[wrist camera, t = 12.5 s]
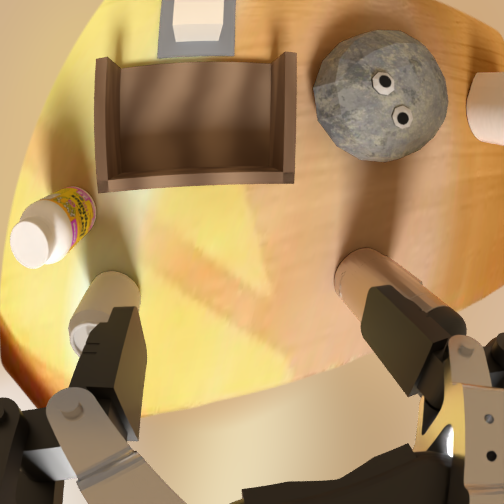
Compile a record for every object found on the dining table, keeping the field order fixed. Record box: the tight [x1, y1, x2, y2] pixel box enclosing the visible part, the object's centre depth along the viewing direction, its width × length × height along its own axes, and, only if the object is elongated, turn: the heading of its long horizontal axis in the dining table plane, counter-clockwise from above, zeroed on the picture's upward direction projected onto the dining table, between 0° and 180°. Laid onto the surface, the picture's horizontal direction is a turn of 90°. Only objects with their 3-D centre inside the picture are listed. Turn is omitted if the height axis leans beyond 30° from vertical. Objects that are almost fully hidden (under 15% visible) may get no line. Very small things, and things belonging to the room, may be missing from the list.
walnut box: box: [94, 52, 297, 193], centre depth 29 cm, size 20×14×7 cm
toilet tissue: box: [466, 72, 504, 146], centre depth 33 cm, size 11×12×10 cm
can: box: [68, 271, 141, 357], centre depth 33 cm, size 8×8×12 cm
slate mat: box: [157, 0, 236, 58], centre depth 27 cm, size 9×9×1 cm
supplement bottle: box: [10, 186, 96, 269], centre depth 27 cm, size 7×7×13 cm
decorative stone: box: [313, 30, 448, 162], centre depth 30 cm, size 18×21×10 cm
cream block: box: [173, 0, 224, 42], centre depth 24 cm, size 5×5×6 cm
